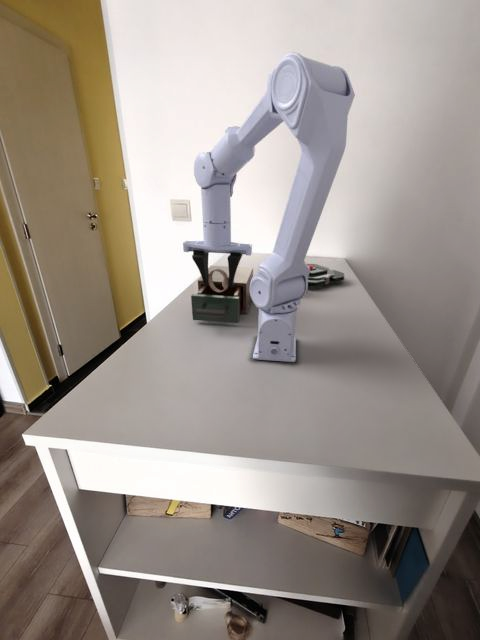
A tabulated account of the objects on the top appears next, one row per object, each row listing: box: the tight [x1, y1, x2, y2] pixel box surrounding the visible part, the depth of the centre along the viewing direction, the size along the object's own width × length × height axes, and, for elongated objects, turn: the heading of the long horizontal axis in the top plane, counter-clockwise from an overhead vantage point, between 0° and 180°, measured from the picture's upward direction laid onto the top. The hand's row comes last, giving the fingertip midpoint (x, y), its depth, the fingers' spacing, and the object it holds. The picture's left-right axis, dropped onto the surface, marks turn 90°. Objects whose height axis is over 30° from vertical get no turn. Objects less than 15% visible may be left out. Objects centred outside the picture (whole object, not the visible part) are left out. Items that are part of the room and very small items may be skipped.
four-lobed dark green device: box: [306, 262, 345, 288], centre depth 106 cm, size 18×18×5 cm
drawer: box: [190, 284, 243, 324], centre depth 76 cm, size 17×10×6 cm, turn 175°
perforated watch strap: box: [208, 269, 229, 292], centre depth 74 cm, size 3×5×5 cm, turn 58°
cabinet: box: [197, 265, 254, 314], centre depth 86 cm, size 14×12×8 cm
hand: (219, 285), depth 75 cm, fingers closed on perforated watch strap, 5 cm apart
